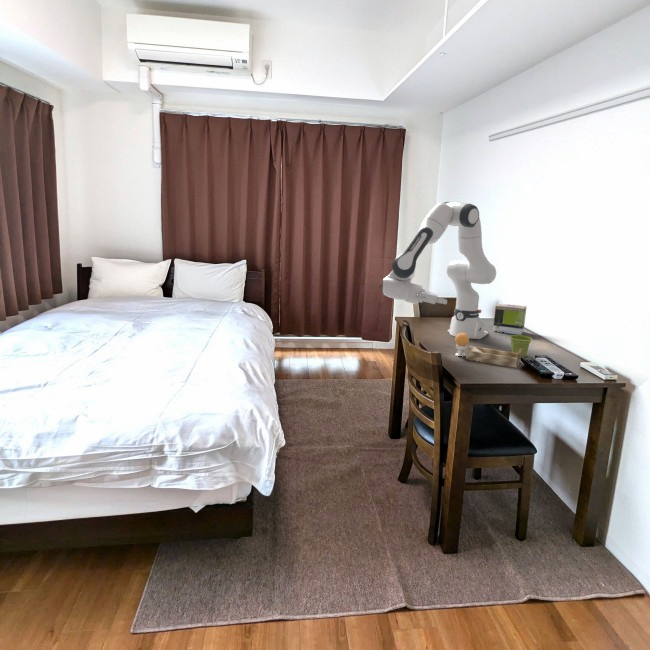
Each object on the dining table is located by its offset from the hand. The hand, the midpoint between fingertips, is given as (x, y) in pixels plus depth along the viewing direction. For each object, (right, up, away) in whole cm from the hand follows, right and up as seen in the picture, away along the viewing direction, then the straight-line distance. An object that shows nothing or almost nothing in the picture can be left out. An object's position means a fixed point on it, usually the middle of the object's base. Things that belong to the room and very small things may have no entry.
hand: (446, 301), depth 214 cm
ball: (+7, -20, +2) cm, 21 cm away
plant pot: (+34, -25, +6) cm, 43 cm away
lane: (+19, -26, -3) cm, 33 cm away
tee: (+7, -24, +3) cm, 25 cm away
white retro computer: (+46, -14, +50) cm, 69 cm away
